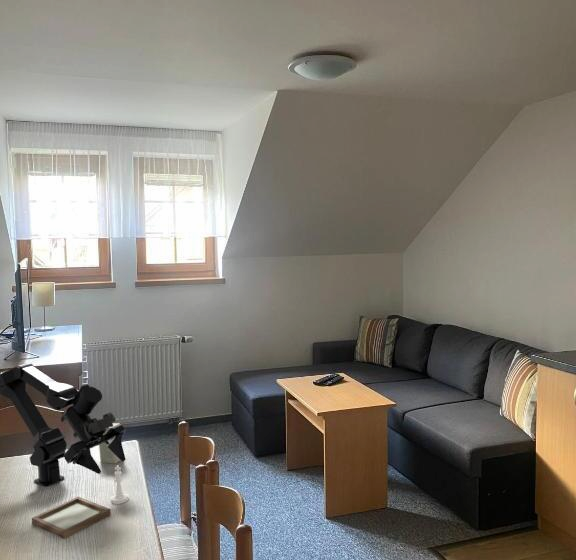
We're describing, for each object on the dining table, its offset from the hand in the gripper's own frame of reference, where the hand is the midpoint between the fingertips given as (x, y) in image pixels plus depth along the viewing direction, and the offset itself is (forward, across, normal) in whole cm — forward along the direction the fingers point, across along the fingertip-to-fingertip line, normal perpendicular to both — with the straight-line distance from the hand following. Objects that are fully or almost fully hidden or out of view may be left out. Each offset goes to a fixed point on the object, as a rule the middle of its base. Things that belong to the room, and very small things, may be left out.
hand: (112, 466), depth 163 cm
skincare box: (-8, +20, +22) cm, 30 cm away
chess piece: (+8, 0, +5) cm, 10 cm away
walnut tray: (+5, -14, +8) cm, 17 cm away
